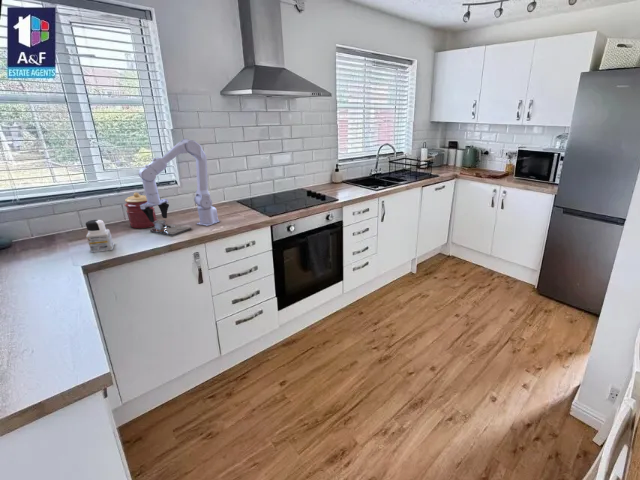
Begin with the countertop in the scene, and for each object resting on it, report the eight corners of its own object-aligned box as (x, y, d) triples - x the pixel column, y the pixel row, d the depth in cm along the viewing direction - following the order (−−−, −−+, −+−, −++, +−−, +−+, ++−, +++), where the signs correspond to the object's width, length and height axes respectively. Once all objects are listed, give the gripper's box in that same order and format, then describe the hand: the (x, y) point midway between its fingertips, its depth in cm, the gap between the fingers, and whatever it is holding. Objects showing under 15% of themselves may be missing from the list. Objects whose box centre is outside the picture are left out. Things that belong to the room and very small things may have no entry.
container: (91, 252, 164) (81, 224, 158) (94, 246, 170) (84, 219, 164) (112, 250, 167) (103, 222, 161) (114, 244, 173) (105, 217, 167)
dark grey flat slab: (169, 225, 201) (169, 223, 200) (191, 229, 196) (191, 227, 196) (150, 232, 191) (150, 229, 190) (172, 236, 186) (172, 234, 186)
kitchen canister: (154, 228, 196) (145, 195, 188) (126, 229, 193) (116, 195, 185) (161, 221, 207) (153, 189, 199) (135, 222, 204) (126, 190, 196)
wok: (161, 227, 195) (159, 219, 193) (176, 229, 192) (174, 221, 190) (151, 230, 190) (149, 222, 188) (166, 232, 187) (164, 224, 185)
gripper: (158, 189, 190) (164, 215, 197) (132, 195, 178) (140, 222, 184) (168, 191, 188) (174, 216, 194) (143, 196, 176) (150, 224, 182)
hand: (158, 219), depth 189 cm, fingers open, 7 cm apart
